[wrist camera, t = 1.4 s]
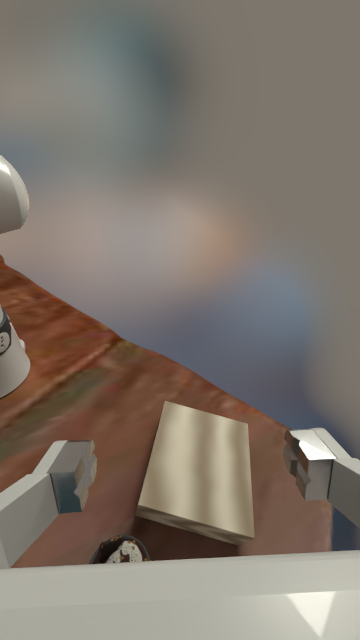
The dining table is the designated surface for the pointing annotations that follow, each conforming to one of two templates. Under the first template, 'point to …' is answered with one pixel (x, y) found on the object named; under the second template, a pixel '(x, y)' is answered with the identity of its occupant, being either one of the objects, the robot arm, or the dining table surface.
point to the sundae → (120, 551)
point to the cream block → (199, 475)
